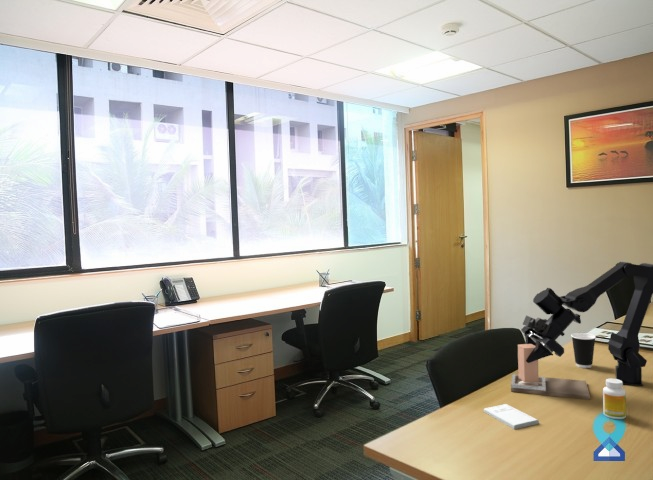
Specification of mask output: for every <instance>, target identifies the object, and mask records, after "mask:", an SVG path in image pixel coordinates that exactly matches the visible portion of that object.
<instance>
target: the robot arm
mask: <svg viewBox="0 0 653 480" xmlns="http://www.w3.org/2000/svg"><path fill="white" fill-rule="evenodd" d="M628 276H633V284H634V291H633V294H632V297H631V300H630V303H629V305H628V307H627V311H626V314H625V317H624V320H623V321H622V322H623V323H622V325H621V327H620V328H621V329H619V331H618V332H616V333H615V332H611V334H610V336H609V337H610V338H609V340H608V342H607V345H608V346H607V348H608V349H607V350H608V352H609V353H610V354H611V355H612V357H613V359H614V360H615V361H617V365H615V379H618V380H621V381H622V382H623V385H628V386H629V385H630V386H638V387H639V386H641V387H643V386H644V384H643V382H642V381H643V379H642V374H643V373H642V372H643V369H642V368H645V367H646V365H647V362H648V360H647V359H646V358H645V357H643V356H642V355H641V353H639V352H640V346H641V344H640V339H639V333H640V331H641V328H642V325H643V322H644V319H645V317H646V314H647V312H648V308H649V304H650V302H651V300H652V296H653V263H647V262H643V263H639V264H635V263H631V262H626V261H619V262H617V263H616V264H615V265H614V266H613V267H612V268H610V269H608V270H607V271H606V272H604V273H603V274H601V275H600V276H599V277H597V278H596V279H594V280H593V281H591V282H590V283H589V284H587V285H584V286H582V287H579V288H576V289H574V290H572V291H569V292H568V293H566V294H565V295H562V296H559V295H558V294H557V293H555V291H554V290H553V289H552V288H550V287H546V289H544V290H542V291H540V292H539V293H537V294H535V296H534V298H533V300H532V302H533V303H534V304H535V305H536V306H537V307H538V308H539V309H540V310H541V311H543V313H544V314H545V315H550V317H549V318H548V319H547V318H541V317H537V318H533V317H531V316H528V315H525V317H524V319H523V322H522V325H524V326H523V327H522V328H521V330H520V331H521V332H522V333H523V335H524V339H525V342H524V344H533V345H534V346H536V347H535V348H534V350H533V351H532V352H531V354H530V355H529V356H528V358H527V360H526V361H527V362H528V363H530V362H533V361H536V360H538V361H539V360H541V359H544V358H547V357H550V356H554V355H555V356H557V357H560V358H561V357H562V356H563V355H564V354H565V348H564V347H563V346H562V345H561V344H560V343H559V342H558V341H557V339H558V338H559V337H560V336H562V337H564V336H565V335H566V334H565V330H566V329H567V328H568V327H569V326H570V325H572V323H574V322H575V323H577V324H582V320H581V314H579V313H585V312H588V311H589V310H590V309H591V308H592V307H593V306H594V305H595V304H596V303H597V301H598V299H599V297H601V295H603V294H604V293H606V292H607V291H609V290H610V289H611V288H613V287H614V286H616V285H617V284H618V283H621V282H622V281H623V280H624V279H626V278H627V277H628ZM564 306H565V307H567V308H565V307H564ZM573 311H576V312H579V313H575V312H573Z"/></svg>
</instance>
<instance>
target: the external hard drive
mask: <svg viewBox="0 0 653 480" xmlns="http://www.w3.org/2000/svg"><path fill="white" fill-rule="evenodd" d="M483 413H485V414H487V415H488V414H489V416H490V417H492V418H494V419H495V420H497V421H499V422H501V423H502V424H503V425H506V426H507V427H509V428H511V429H512V430H516V429H517V430H518V429H520V428H525V427H529V426H533V425H534V426H535V425H538V424H540V422H539V419H537V418H535V417H533V416H531V415H530V414H527V413H525V412H523V411H522V410H520V409H517V408H515V407H513V406H511V405H510V404H507V403H504V404H499V405H494V406H489V407H484V408H483Z"/></svg>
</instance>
